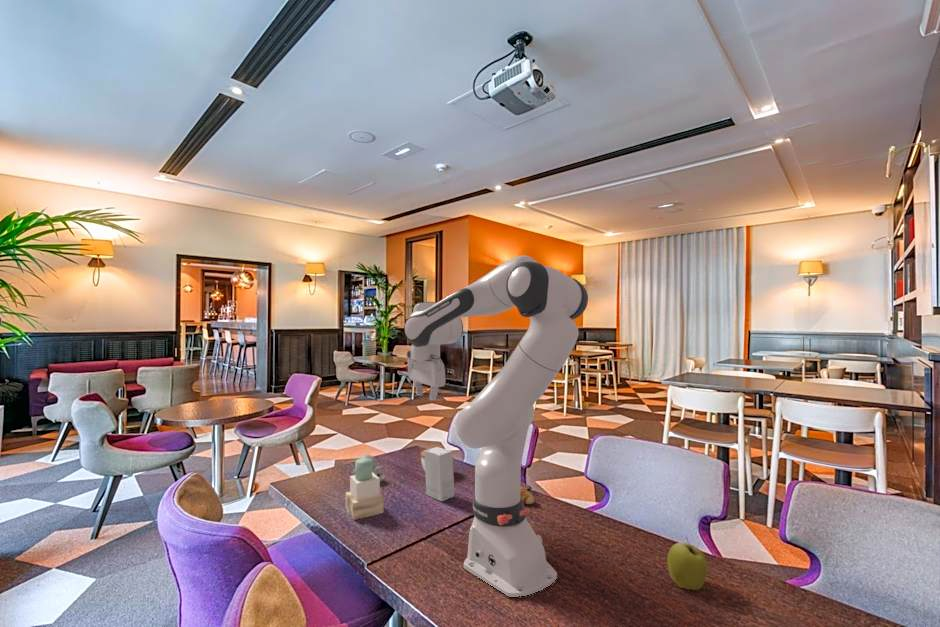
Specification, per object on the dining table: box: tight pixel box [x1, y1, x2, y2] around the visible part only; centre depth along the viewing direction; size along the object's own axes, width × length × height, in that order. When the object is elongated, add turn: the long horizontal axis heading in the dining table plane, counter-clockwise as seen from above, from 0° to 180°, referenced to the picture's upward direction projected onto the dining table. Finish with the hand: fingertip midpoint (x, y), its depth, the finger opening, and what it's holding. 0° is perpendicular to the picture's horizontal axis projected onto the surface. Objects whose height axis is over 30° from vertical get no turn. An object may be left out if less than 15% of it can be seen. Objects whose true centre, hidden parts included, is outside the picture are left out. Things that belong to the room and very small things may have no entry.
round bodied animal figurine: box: [352, 454, 385, 483], centre depth 150 cm, size 7×12×8 cm, turn 63°
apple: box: [667, 537, 709, 591], centre depth 91 cm, size 8×8×10 cm
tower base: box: [344, 491, 385, 521], centre depth 127 cm, size 9×9×5 cm
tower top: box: [349, 472, 381, 501], centre depth 127 cm, size 7×7×5 cm
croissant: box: [521, 483, 535, 505], centre depth 136 cm, size 21×10×8 cm, turn 53°
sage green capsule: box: [354, 458, 372, 481], centre depth 127 cm, size 5×5×5 cm
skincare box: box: [424, 446, 455, 502], centre depth 137 cm, size 8×6×15 cm
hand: (426, 397), depth 131 cm, fingers open, 8 cm apart
